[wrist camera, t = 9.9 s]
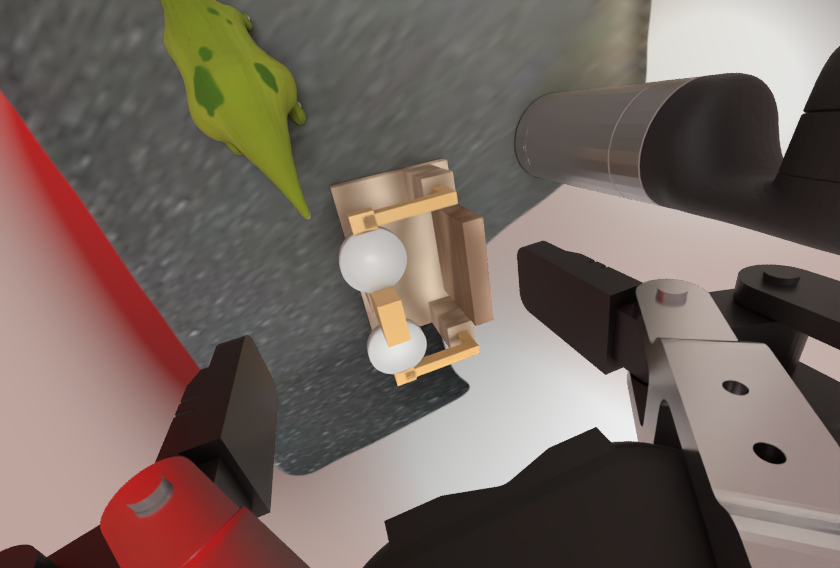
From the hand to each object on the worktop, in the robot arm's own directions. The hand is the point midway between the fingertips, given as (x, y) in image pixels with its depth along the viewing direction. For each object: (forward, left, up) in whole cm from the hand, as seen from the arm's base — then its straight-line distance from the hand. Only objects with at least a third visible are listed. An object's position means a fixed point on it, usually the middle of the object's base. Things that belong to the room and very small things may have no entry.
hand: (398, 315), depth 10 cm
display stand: (-6, +10, -30) cm, 32 cm away
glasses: (-4, +10, -22) cm, 25 cm away
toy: (+5, -10, -30) cm, 32 cm away
